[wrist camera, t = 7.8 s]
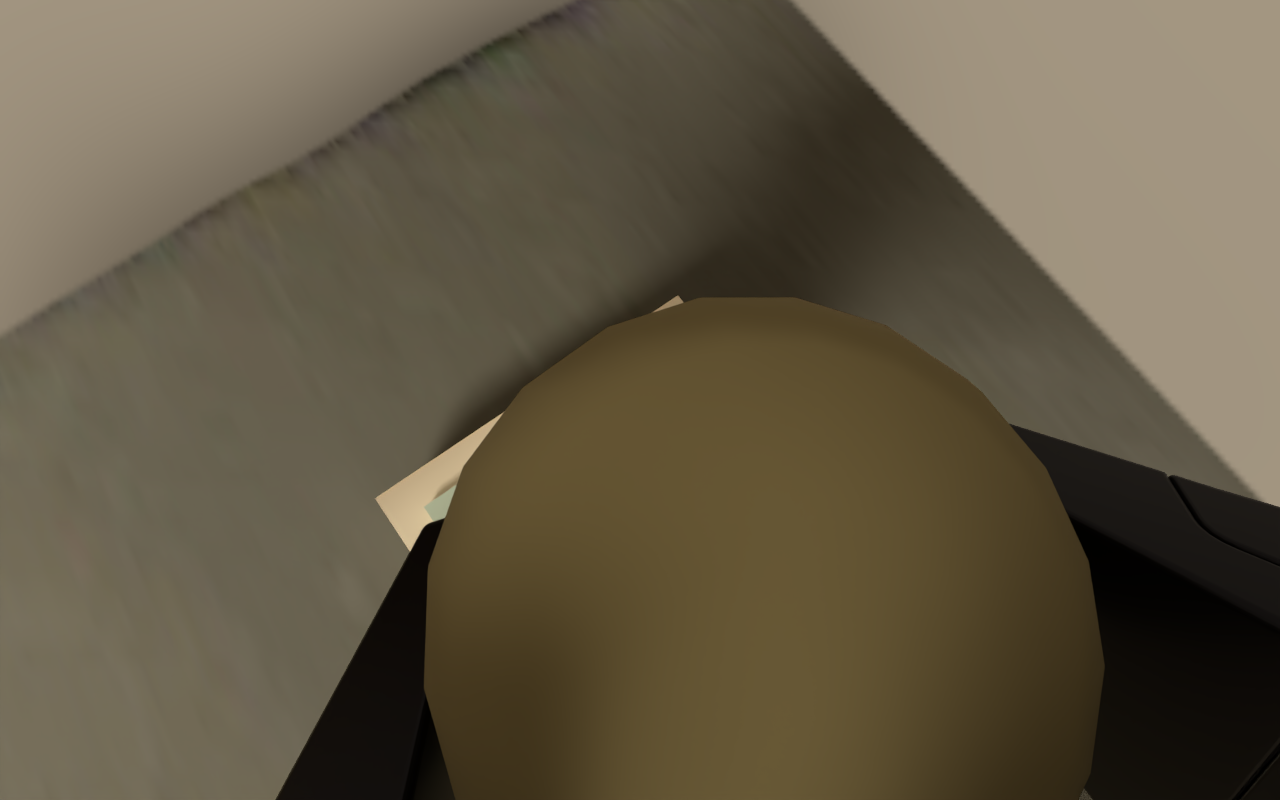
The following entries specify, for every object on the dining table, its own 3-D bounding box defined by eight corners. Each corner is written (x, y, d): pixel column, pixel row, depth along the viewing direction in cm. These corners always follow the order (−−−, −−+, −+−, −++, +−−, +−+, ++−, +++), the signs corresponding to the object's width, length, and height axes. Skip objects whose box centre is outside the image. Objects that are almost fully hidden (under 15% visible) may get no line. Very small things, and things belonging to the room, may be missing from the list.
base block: (849, 573, 20) (902, 585, 17) (592, 781, 19) (593, 840, 15) (665, 325, 21) (680, 289, 18) (407, 501, 20) (368, 497, 16)
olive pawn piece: (832, 546, 15) (1466, 610, 4) (655, 756, 14) (881, 1617, 3) (644, 369, 15) (763, 6, 5) (457, 558, 14) (32, 672, 3)
